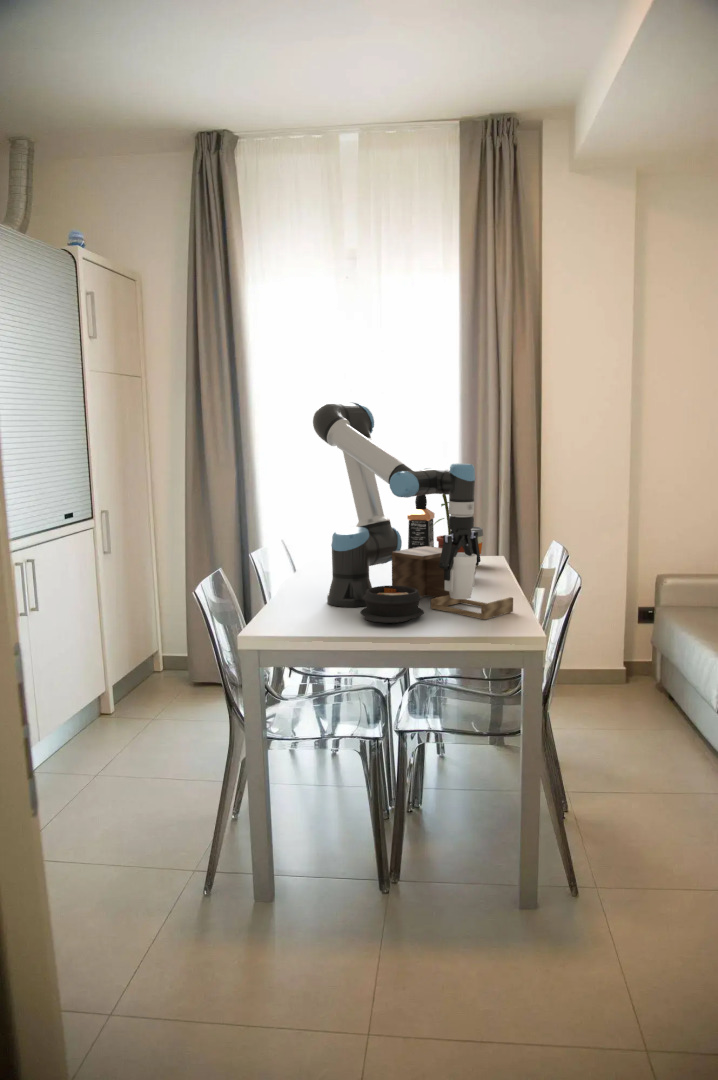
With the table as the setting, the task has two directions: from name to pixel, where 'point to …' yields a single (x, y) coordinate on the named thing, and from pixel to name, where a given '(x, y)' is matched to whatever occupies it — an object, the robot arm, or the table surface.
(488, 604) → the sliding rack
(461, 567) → the foam cup
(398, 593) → the casserole
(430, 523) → the whiskey bottle
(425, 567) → the cubby cabinet
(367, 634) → the table surface
